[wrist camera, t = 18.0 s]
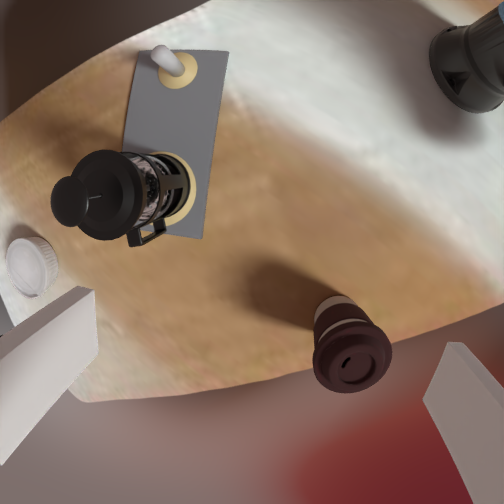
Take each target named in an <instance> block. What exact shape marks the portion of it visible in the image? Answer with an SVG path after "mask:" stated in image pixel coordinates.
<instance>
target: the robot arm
mask: <svg viewBox="0 0 504 504" xmlns="http://www.w3.org/2000/svg"><path fill="white" fill-rule="evenodd" d="M429 58H430V65H431V69H432V72H433V75H434V77H435V79H436V81H437V83H438V85H439V86H440V88H441V89H442V91H443V92H444V93H445V95H446V96H447V97H448V98H449V99H450V100H451V101H452V102H453V103H455V104H456V105H457V106H459V107H460V108H462V109H464V110H466V111H468V112H472V113H485V112H489V111H492V110H494V109H496V108H497V107H499V106H500V105H501V103H502V102H503V100H504V2H501V4H499V6H498V7H496V8H495V9H493V10H492V11H490V12H489V13H487V14H486V15H484V16H483V17H481V18H480V19H478V20H477V21H476V22H474V23H473V24H471V25H466V26H455V27H450V28H447V29H445V30H443V31H442V32H441V33H439V34H438V35H437V36H436V37H435V38H434V39H433V41H432V43H431V46H430V52H429ZM98 354H99V351H98V340H97V329H96V314H95V295H94V290H93V289H89V288H85V287H81V286H76V287H75V288H73V289H72V290H70V291H69V292H67V293H65V294H64V295H62V296H61V297H59V298H58V299H56V300H55V301H53V302H52V303H50V304H48V305H47V306H45V307H44V308H42V309H41V310H39V311H38V312H36V313H35V314H33V315H32V316H30V317H29V318H28V319H26V320H25V321H23V322H22V323H20V324H19V325H17V326H16V327H14V328H13V329H11V330H10V331H9V332H7V333H6V334H4V335H1V336H0V465H3V464H4V462H5V461H6V460H7V459H8V457H9V456H10V455H11V454H12V452H13V451H14V450H15V449H16V448H17V446H18V445H19V444H20V443H21V441H22V440H23V439H24V438H25V437H26V436H27V434H28V433H29V432H30V431H31V430H32V429H33V427H34V426H35V425H36V424H37V423H38V421H39V420H40V419H41V418H42V417H43V416H44V414H45V413H46V412H47V411H48V410H49V409H50V408H51V406H52V405H53V404H54V403H55V402H56V401H57V399H58V398H59V397H60V396H61V395H62V394H63V392H64V391H65V390H66V389H67V388H68V387H69V386H70V385H71V384H72V383H73V381H74V380H75V379H76V378H77V377H78V376H79V375H80V374H81V372H82V371H83V370H84V369H85V368H86V367H87V366H88V365H89V364H90V363H91V361H92V360H93V359H94V358H95V357H96V356H97V355H98ZM422 400H423V402H424V404H425V405H426V407H427V409H428V411H429V413H430V415H431V417H432V418H433V420H434V422H435V424H436V426H437V428H438V430H439V432H440V434H441V436H442V438H443V440H444V442H445V444H446V446H447V448H448V450H449V452H450V454H451V456H452V458H453V460H454V462H455V464H456V466H457V468H458V470H459V473H460V475H461V477H462V478H463V481H464V483H465V485H466V487H467V490H468V492H469V494H470V496H471V499H472V501H473V503H474V504H504V389H503V387H502V386H501V385H500V384H499V383H498V382H497V380H496V379H495V378H494V377H493V376H492V375H491V373H490V372H489V371H488V370H487V369H486V368H485V367H484V366H483V364H482V363H481V362H480V361H479V360H478V359H477V358H476V357H475V356H474V355H473V354H472V352H471V351H470V350H469V349H468V348H467V347H466V346H465V345H464V344H463V343H458V342H457V343H456V342H448V343H447V346H446V348H445V351H444V353H443V355H442V358H441V360H440V363H439V365H438V367H437V369H436V372H435V374H434V376H433V378H432V380H431V383H430V385H429V387H428V389H427V391H426V393H425V395H424V398H423V399H422Z"/></svg>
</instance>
